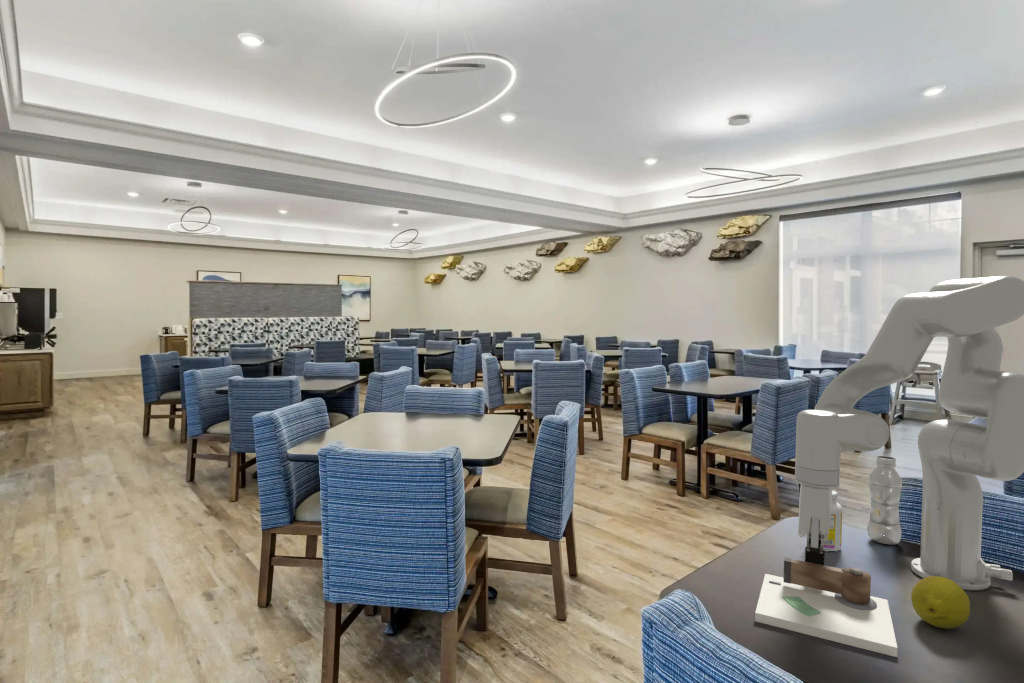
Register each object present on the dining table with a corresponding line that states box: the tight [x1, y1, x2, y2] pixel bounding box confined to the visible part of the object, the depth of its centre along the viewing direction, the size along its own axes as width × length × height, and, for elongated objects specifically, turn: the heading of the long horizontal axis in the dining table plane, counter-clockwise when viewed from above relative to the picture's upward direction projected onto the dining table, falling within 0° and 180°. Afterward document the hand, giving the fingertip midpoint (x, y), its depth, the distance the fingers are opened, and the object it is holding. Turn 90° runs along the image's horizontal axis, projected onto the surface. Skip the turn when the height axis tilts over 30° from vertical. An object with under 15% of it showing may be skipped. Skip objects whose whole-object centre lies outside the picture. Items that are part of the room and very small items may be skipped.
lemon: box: [910, 576, 971, 630], centre depth 93 cm, size 11×8×8 cm
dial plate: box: [754, 573, 898, 658], centre depth 97 cm, size 20×17×2 cm
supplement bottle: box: [823, 489, 843, 552], centre depth 126 cm, size 7×7×13 cm
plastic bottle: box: [866, 455, 903, 545], centre depth 128 cm, size 6×7×20 cm
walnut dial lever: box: [783, 556, 872, 604], centre depth 101 cm, size 14×4×5 cm, turn 60°
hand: (814, 570), depth 106 cm, fingers closed
